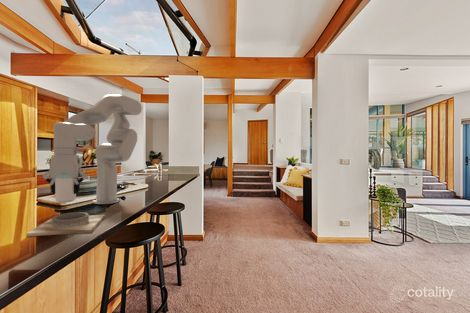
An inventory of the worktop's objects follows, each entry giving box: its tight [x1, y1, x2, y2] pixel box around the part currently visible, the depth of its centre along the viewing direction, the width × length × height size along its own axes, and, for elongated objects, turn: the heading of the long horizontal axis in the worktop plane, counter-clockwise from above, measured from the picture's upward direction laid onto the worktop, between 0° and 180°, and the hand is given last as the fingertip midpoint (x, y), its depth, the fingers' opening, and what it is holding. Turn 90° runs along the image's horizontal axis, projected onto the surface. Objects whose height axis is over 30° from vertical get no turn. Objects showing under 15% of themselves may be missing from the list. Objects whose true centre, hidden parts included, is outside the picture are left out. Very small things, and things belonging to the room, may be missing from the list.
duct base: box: [26, 211, 106, 237], centre depth 82 cm, size 18×18×4 cm
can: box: [54, 174, 77, 204], centre depth 95 cm, size 7×7×12 cm
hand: (65, 193), depth 95 cm, fingers closed on can, 7 cm apart
